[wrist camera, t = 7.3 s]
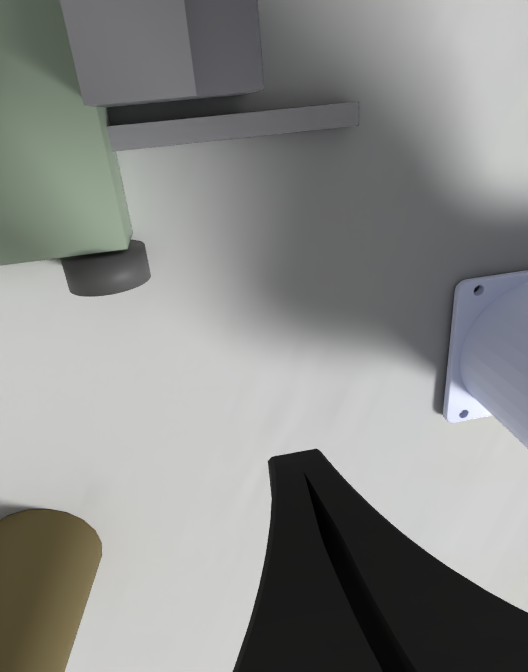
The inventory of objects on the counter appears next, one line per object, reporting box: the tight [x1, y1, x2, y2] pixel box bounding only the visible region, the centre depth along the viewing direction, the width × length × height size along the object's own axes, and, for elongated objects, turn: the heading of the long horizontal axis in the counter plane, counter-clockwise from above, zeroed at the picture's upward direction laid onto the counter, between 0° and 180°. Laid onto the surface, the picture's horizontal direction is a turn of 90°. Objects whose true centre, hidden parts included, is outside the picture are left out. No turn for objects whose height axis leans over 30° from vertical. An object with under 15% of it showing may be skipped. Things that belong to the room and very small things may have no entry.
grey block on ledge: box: [60, 0, 264, 107], centre depth 14 cm, size 5×5×5 cm
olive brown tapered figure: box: [0, 509, 102, 672], centre depth 20 cm, size 6×6×11 cm
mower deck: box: [0, 0, 359, 296], centre depth 13 cm, size 20×17×6 cm
